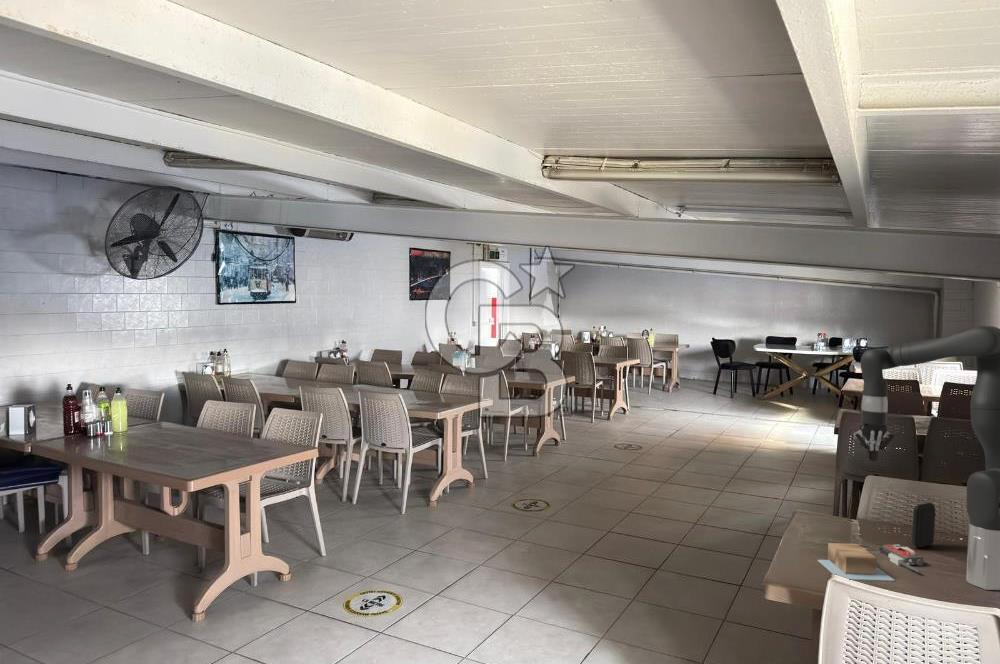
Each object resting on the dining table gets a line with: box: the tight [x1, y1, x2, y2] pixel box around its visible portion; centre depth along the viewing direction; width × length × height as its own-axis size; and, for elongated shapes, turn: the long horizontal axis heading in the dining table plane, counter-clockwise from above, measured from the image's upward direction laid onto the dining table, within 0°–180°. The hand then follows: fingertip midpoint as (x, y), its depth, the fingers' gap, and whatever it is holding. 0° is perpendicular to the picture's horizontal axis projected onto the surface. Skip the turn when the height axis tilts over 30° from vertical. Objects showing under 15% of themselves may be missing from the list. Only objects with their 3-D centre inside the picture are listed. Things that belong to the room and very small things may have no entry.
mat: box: [817, 559, 896, 582], centre depth 213 cm, size 15×16×1 cm
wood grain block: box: [827, 542, 878, 574], centre depth 216 cm, size 5×9×12 cm
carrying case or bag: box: [911, 502, 937, 549], centre depth 236 cm, size 11×3×15 cm, turn 118°
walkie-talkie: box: [878, 543, 924, 574], centre depth 221 cm, size 9×4×20 cm
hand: (871, 461), depth 232 cm, fingers closed
